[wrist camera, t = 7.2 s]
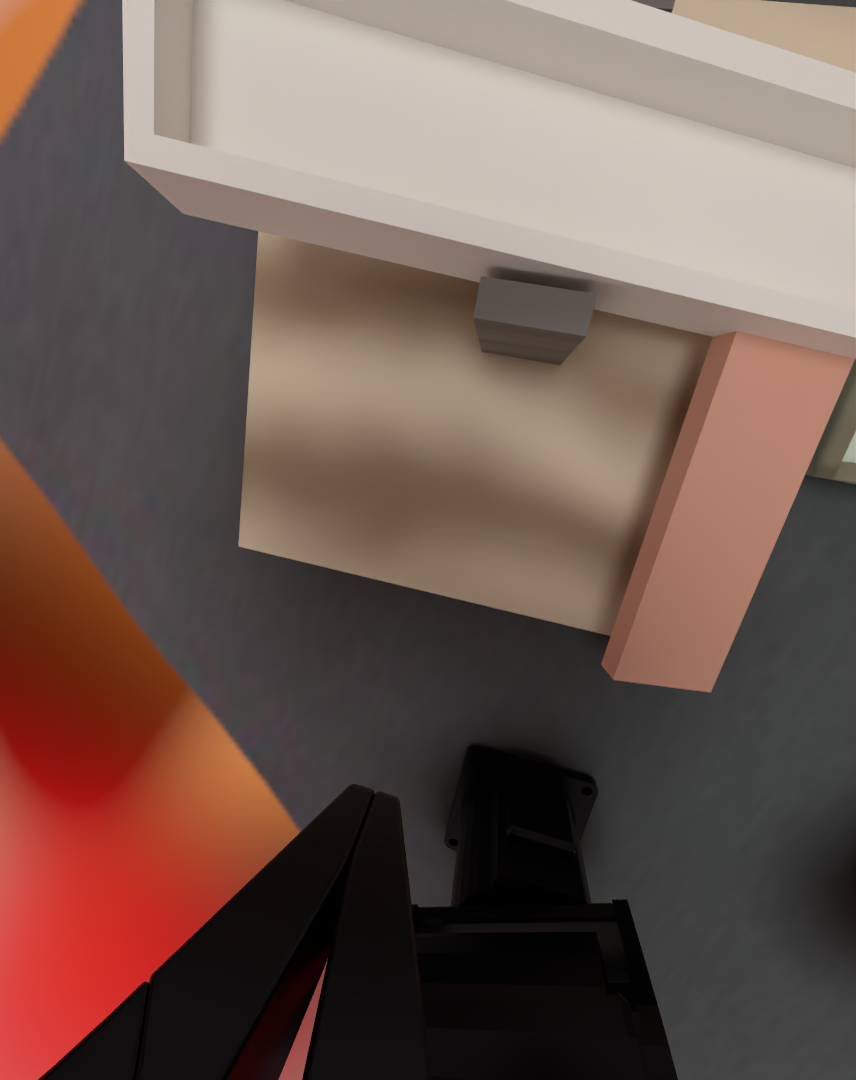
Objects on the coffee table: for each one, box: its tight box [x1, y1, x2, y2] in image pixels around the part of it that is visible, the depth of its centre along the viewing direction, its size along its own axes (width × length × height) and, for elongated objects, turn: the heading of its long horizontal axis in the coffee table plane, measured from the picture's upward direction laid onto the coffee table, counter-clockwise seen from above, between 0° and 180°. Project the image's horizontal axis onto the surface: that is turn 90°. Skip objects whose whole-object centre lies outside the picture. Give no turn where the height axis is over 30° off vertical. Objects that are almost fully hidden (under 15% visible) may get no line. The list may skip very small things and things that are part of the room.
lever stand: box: [239, 0, 856, 636], centre depth 14 cm, size 21×22×6 cm
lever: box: [122, 0, 856, 692], centre depth 13 cm, size 17×20×3 cm
